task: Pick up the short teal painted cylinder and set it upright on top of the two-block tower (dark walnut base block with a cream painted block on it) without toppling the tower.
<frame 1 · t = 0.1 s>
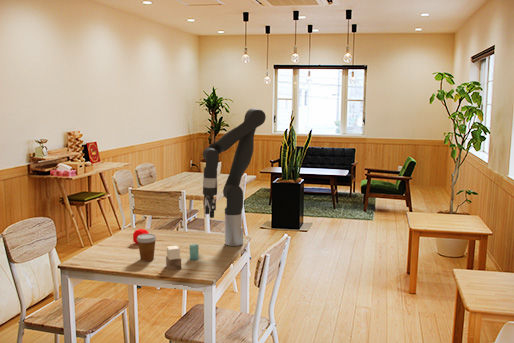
hand: (209, 215, 269), 17 cm above the table, tool pointing down, fingers open, 8 cm apart
walnut base block: (173, 267, 242), on the table
disposable coffee cup: (147, 259, 253), on the table
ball: (141, 243, 278), on the table
teal cylinder: (194, 259, 253), on the table
cream block: (173, 257, 241), point 5 cm above the table
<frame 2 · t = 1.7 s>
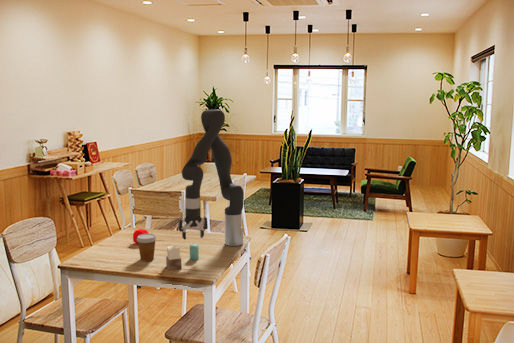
hand: (193, 238, 252), 11 cm above the table, tool pointing down, fingers open, 8 cm apart
walnut base block: (174, 267, 242), on the table, touching cream block
cream block: (173, 257, 241), point 5 cm above the table, touching walnut base block
everything else where it was.
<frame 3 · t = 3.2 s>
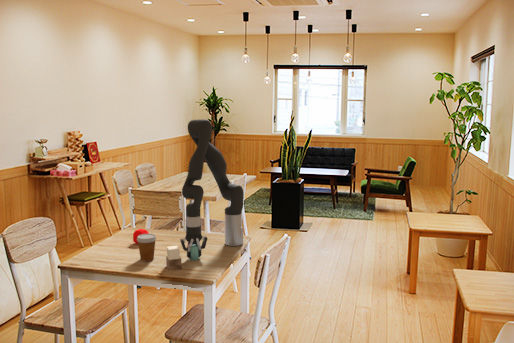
hand: (194, 257, 253), 1 cm above the table, tool pointing down, fingers closed on teal cylinder, 4 cm apart
teal cylinder: (194, 259, 253), on the table, touching gripper
everything else where it was.
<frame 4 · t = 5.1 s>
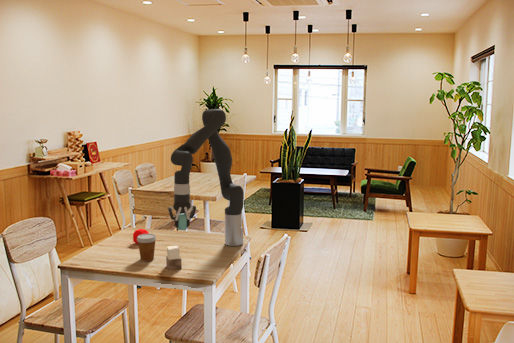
hand: (182, 227, 244), 18 cm above the table, tool pointing down, fingers closed on teal cylinder, 4 cm apart
teal cylinder: (182, 228, 244), point 17 cm above the table, touching gripper
everything else where it was.
when the fingers open (12 cm above the table, at t = 6.9 s): teal cylinder drops 1 cm, resting on cream block.
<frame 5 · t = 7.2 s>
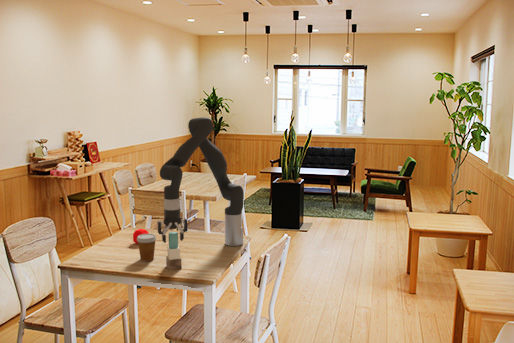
hand: (173, 241, 240), 13 cm above the table, tool pointing down, fingers open, 7 cm apart
teal cylinder: (173, 247, 240), point 10 cm above the table, touching cream block
cream block: (173, 257, 241), point 5 cm above the table, touching teal cylinder, walnut base block
everything else where it was.
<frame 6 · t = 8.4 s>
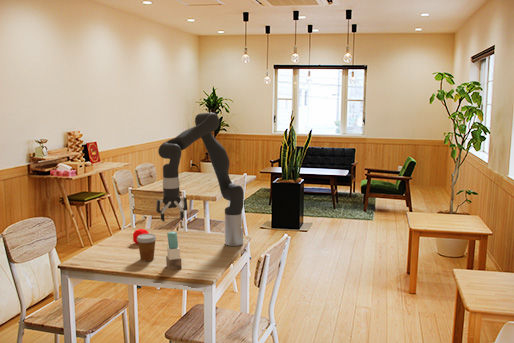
hand: (172, 220, 238), 23 cm above the table, tool pointing down, fingers open, 8 cm apart
nothing on the table moved.
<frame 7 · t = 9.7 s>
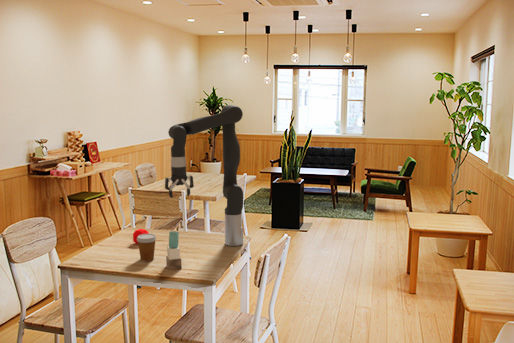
hand: (179, 196, 258), 30 cm above the table, tool pointing down, fingers open, 8 cm apart
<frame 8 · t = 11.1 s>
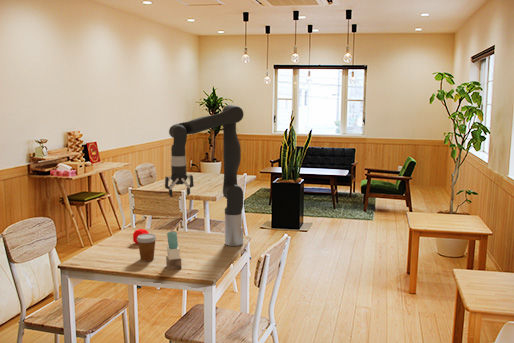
hand: (179, 195, 258), 30 cm above the table, tool pointing down, fingers open, 8 cm apart
at the end: teal cylinder 0.1 cm off-centre on the walnut base block, point 10.4 cm above the walnut base block's base; teal cylinder tilted 11°; cream block moved 0.1 cm from its start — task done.
